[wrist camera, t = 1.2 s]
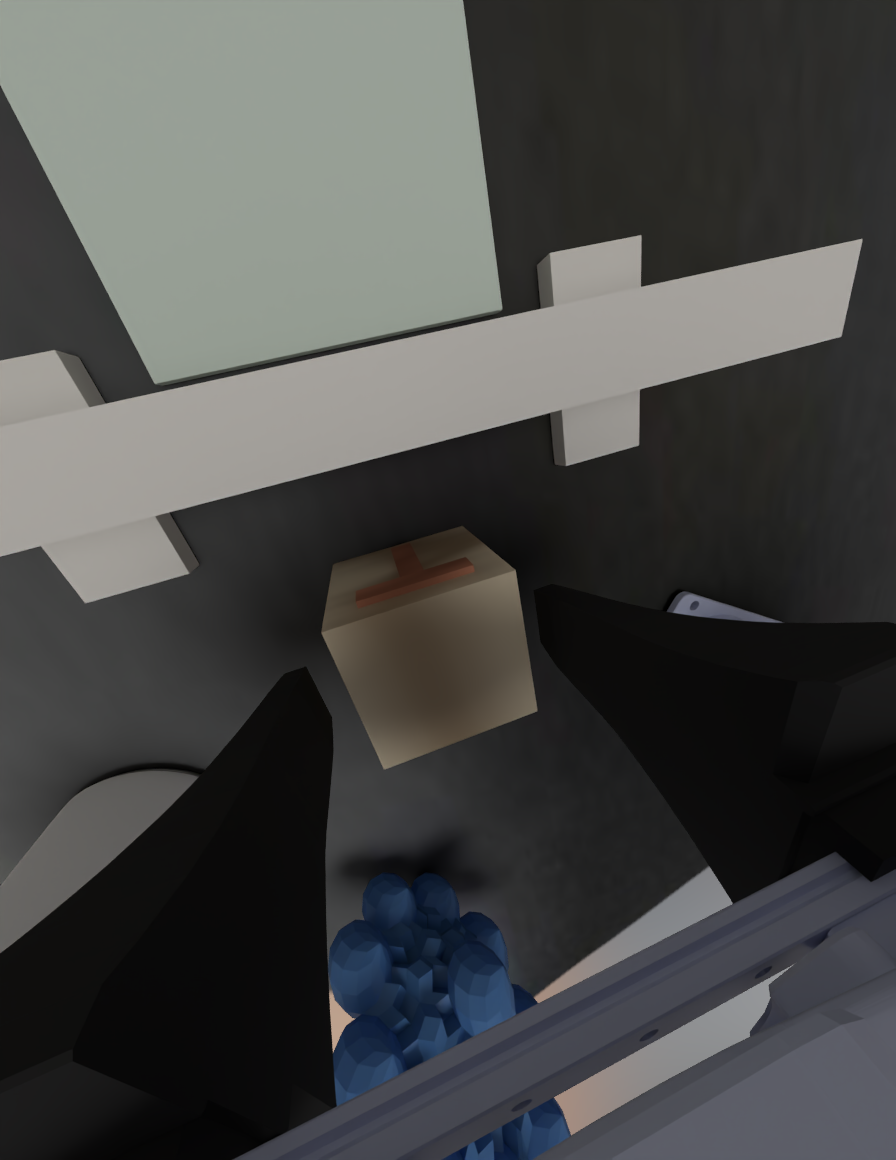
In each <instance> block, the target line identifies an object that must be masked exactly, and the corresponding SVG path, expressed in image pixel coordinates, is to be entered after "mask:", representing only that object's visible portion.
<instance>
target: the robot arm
mask: <svg viewBox="0 0 896 1160" xmlns="http://www.w3.org/2000/svg"><path fill="white" fill-rule="evenodd" d="M534 595H535V602H536V610H537V617H538V625H539V633H540V640H541V643H542V645H543V646H544V648H545V650H546V651H547V653H548V654H549V656H550V657H551V658H552V660H553V661H554V663H555V664H556V665H557V667H558V668H559V669H560V670H561V671H562V673H563V674H564V675H565V676H566V677H567V678H568V679H569V680H570V681H571V683H572V684H573V685H574V686H575V687H576V688H577V689H578V690H579V691H580V692H581V693H582V695H583V696H584V697H585V698H586V699H587V700H588V701H589V702H590V703H591V704H592V706H593V707H594V708H595V709H596V710H597V711H598V712H599V713H600V714H601V715H602V716H603V718H604V719H605V720H606V721H607V722H608V723H609V724H610V726H611V727H612V728H613V729H614V730H615V732H616V733H617V734H618V735H619V737H620V738H621V739H622V741H623V742H624V743H625V745H626V746H627V747H628V749H629V750H630V751H631V753H632V754H633V755H634V757H635V758H636V759H637V761H638V762H639V763H640V765H641V766H642V768H643V769H644V770H645V772H646V773H647V775H648V776H649V777H650V779H651V780H652V782H653V783H654V784H655V786H656V787H657V789H658V790H659V791H660V793H661V794H662V796H663V797H664V798H665V800H666V801H667V803H668V804H669V806H670V807H671V809H672V810H673V812H674V813H675V815H676V816H677V818H678V819H679V821H680V822H681V824H682V825H683V826H684V828H685V829H686V831H687V832H688V834H689V835H690V837H691V838H692V840H693V841H694V843H695V844H696V846H697V848H698V849H699V851H700V852H701V854H702V855H703V857H704V858H705V860H706V862H707V863H708V865H709V866H710V868H711V869H712V871H713V872H714V874H715V876H716V877H717V879H718V880H719V882H720V883H721V885H722V886H723V888H724V889H725V891H726V893H727V894H728V896H729V897H730V899H731V901H732V902H733V904H732V905H730V906H728V907H726V908H724V909H722V910H720V911H718V912H716V913H714V914H712V915H710V916H709V917H707V918H705V919H703V920H701V921H699V922H697V923H695V924H693V925H691V926H689V927H687V928H685V929H683V930H681V931H679V932H677V933H675V934H673V935H671V936H670V937H667V938H665V939H663V940H662V941H660V942H658V943H656V944H654V945H652V946H650V947H648V948H646V949H644V950H642V951H640V952H638V953H636V954H634V955H632V956H630V957H628V958H626V959H624V960H623V961H620V962H619V963H617V964H615V965H613V966H611V967H609V968H607V969H605V970H603V971H601V972H599V973H597V974H595V975H593V976H591V977H589V978H587V979H585V980H583V981H582V982H579V983H578V984H576V985H573V986H572V987H570V988H568V989H566V990H564V991H562V992H560V993H558V994H556V995H554V996H552V997H550V998H548V999H546V1000H544V1001H542V1002H540V1003H538V1004H536V1005H534V1006H532V1007H530V1008H528V1009H527V1010H525V1011H523V1012H521V1013H519V1014H517V1015H515V1016H513V1017H511V1018H509V1019H507V1020H505V1021H503V1022H501V1023H499V1024H497V1025H495V1026H493V1027H491V1028H489V1029H487V1030H485V1031H483V1032H482V1033H480V1034H478V1035H476V1036H474V1037H472V1038H470V1039H468V1040H466V1041H464V1042H462V1043H460V1044H458V1045H456V1046H454V1047H452V1048H450V1049H448V1050H446V1051H444V1052H442V1053H440V1054H438V1055H437V1056H435V1057H433V1058H431V1059H429V1060H427V1061H425V1062H423V1063H421V1064H419V1065H417V1066H415V1067H413V1068H411V1069H409V1070H407V1071H405V1072H403V1073H401V1074H399V1075H397V1076H395V1077H393V1078H391V1079H390V1080H388V1081H386V1082H384V1083H382V1084H380V1085H378V1086H376V1087H374V1088H372V1089H370V1090H368V1091H366V1092H364V1093H362V1094H360V1095H358V1096H356V1097H354V1098H352V1099H350V1100H348V1101H346V1102H345V1103H343V1104H341V1105H339V1106H337V1104H336V1092H335V1079H334V1064H333V1051H332V1050H333V1049H332V1035H331V1021H330V1003H329V981H328V960H327V932H326V884H325V849H326V830H327V819H328V808H329V797H330V786H331V775H332V763H333V728H332V717H331V715H330V713H329V711H328V709H327V707H326V705H325V703H324V701H323V699H322V697H321V695H320V693H319V691H318V689H317V687H316V685H315V683H314V681H313V679H312V677H311V675H310V674H309V672H308V670H307V668H306V667H303V668H300V669H297V670H294V671H291V672H288V673H285V674H284V675H283V676H282V677H281V678H280V680H279V681H278V682H277V683H276V684H275V686H274V687H273V688H272V689H271V691H270V692H269V693H268V694H267V696H266V697H265V698H264V700H263V701H262V702H261V703H260V705H259V706H258V707H257V709H256V710H255V711H254V712H253V714H252V715H251V716H250V717H249V719H248V720H247V721H246V722H245V724H244V725H243V726H242V727H241V729H240V730H239V731H238V732H237V734H236V735H235V736H234V737H233V738H232V739H231V741H230V742H229V743H228V744H227V745H226V746H225V748H224V749H223V750H222V751H221V752H220V753H219V755H218V756H217V757H216V758H215V759H214V760H213V762H212V763H211V764H210V765H209V766H208V767H207V768H206V770H205V771H204V772H203V773H202V774H201V775H200V776H199V777H198V778H197V779H196V780H195V781H194V783H193V784H192V785H191V786H190V787H189V788H188V789H187V790H186V791H185V792H184V793H183V794H182V795H181V796H180V797H179V798H178V799H177V800H176V801H175V802H174V803H173V804H172V805H171V806H170V807H169V808H168V809H167V810H166V811H165V812H164V813H163V814H162V815H161V816H160V817H159V818H158V819H157V820H156V821H155V822H154V823H152V824H151V825H150V826H149V827H148V828H147V829H146V830H145V831H144V832H143V833H142V834H141V835H139V836H138V837H137V838H136V839H135V840H134V841H133V842H132V843H131V844H130V845H129V846H128V847H126V848H125V849H124V850H123V851H122V852H121V853H120V854H119V855H118V856H117V857H116V858H115V859H113V860H112V861H111V862H110V863H109V864H108V865H107V866H106V867H104V868H103V869H102V870H101V871H100V872H99V873H98V874H96V875H95V876H94V877H93V878H92V879H91V880H89V881H88V882H87V883H86V884H85V885H84V886H82V887H81V888H80V889H79V890H78V891H77V892H75V893H74V894H73V895H72V896H71V897H69V898H68V899H67V900H66V901H64V902H63V903H62V904H61V905H60V906H58V907H57V908H56V909H55V910H54V911H52V912H51V913H50V914H49V915H48V916H46V917H45V918H44V919H43V920H41V921H40V922H39V923H38V924H37V925H35V926H34V927H33V928H32V929H30V930H29V931H28V932H27V933H25V934H24V935H23V936H22V937H20V938H19V939H18V940H17V941H15V942H14V943H13V944H12V945H10V946H9V947H8V948H6V949H5V950H4V951H2V952H1V953H0V1160H442V1159H443V1158H445V1157H447V1156H449V1155H451V1154H452V1153H454V1152H456V1151H458V1150H460V1149H461V1148H463V1147H465V1146H467V1145H469V1144H470V1143H472V1142H474V1141H476V1140H478V1139H479V1138H481V1137H483V1136H485V1135H487V1134H488V1133H490V1132H492V1131H494V1130H496V1129H497V1128H499V1127H501V1126H503V1125H505V1124H506V1123H508V1122H510V1121H512V1120H514V1119H516V1118H517V1117H519V1116H521V1115H523V1114H525V1113H526V1112H528V1111H530V1110H532V1109H534V1108H535V1107H537V1106H539V1105H541V1104H543V1103H544V1102H546V1101H548V1100H550V1099H552V1098H553V1097H555V1096H557V1095H559V1094H561V1093H562V1092H564V1091H566V1090H568V1089H570V1088H571V1087H573V1086H575V1085H577V1084H579V1083H580V1082H582V1081H584V1080H586V1079H588V1078H589V1077H591V1076H593V1075H595V1074H597V1073H598V1072H600V1071H602V1070H604V1069H606V1068H607V1067H609V1066H611V1065H613V1064H614V1063H616V1062H618V1061H620V1060H622V1059H624V1058H626V1057H627V1056H629V1055H631V1054H633V1053H634V1052H636V1051H638V1050H640V1049H642V1048H644V1047H645V1046H647V1045H649V1044H651V1043H653V1042H654V1041H656V1040H658V1039H660V1038H662V1037H663V1036H665V1035H667V1034H669V1033H671V1032H672V1031H674V1030H676V1029H678V1028H680V1027H681V1026H683V1025H685V1024H687V1023H688V1022H690V1021H692V1020H694V1019H696V1018H697V1017H699V1016H701V1015H703V1014H705V1013H706V1012H708V1011H710V1010H712V1009H714V1008H716V1007H717V1006H719V1005H721V1004H723V1003H725V1002H726V1001H728V1000H730V999H732V998H734V997H735V996H737V995H739V994H741V993H743V992H745V991H746V990H748V989H750V988H752V987H753V986H755V985H757V984H759V983H761V982H763V981H764V980H766V979H768V978H770V977H771V976H773V975H775V974H777V973H779V972H781V971H782V970H784V969H786V968H788V967H790V966H791V965H793V964H794V965H793V966H792V967H791V968H789V969H788V970H787V971H786V972H784V973H783V974H782V975H780V976H779V977H778V978H777V979H775V980H774V981H773V982H772V983H771V984H769V991H770V997H771V998H770V1001H769V1003H768V1005H767V1008H766V1010H765V1013H764V1014H763V1015H762V1016H761V1018H760V1019H759V1020H758V1022H757V1023H756V1024H755V1026H754V1027H753V1028H752V1030H751V1031H750V1037H749V1038H747V1039H745V1040H743V1041H741V1042H739V1043H736V1044H735V1045H733V1046H730V1047H728V1048H726V1049H724V1050H722V1051H720V1052H718V1053H717V1054H715V1055H713V1056H711V1057H709V1058H707V1059H705V1060H703V1061H702V1062H700V1063H698V1064H696V1065H694V1066H692V1067H690V1068H689V1069H687V1070H685V1071H683V1072H681V1073H679V1074H677V1075H675V1076H674V1077H672V1078H670V1079H668V1080H666V1081H665V1082H662V1083H661V1084H659V1085H657V1086H655V1087H654V1088H652V1089H650V1090H648V1091H647V1092H645V1093H643V1094H641V1095H640V1096H638V1097H636V1098H634V1099H633V1100H631V1101H629V1102H627V1103H626V1104H624V1105H622V1106H621V1107H619V1108H617V1109H615V1110H614V1111H612V1112H610V1113H608V1114H607V1115H605V1116H603V1117H601V1118H600V1119H598V1120H596V1121H595V1122H593V1123H591V1124H590V1125H588V1126H586V1127H585V1128H583V1129H581V1130H580V1131H578V1132H576V1133H575V1134H573V1135H572V1136H570V1137H568V1138H567V1139H565V1140H563V1141H562V1142H560V1143H559V1144H557V1145H555V1146H554V1147H552V1148H550V1149H549V1150H547V1151H545V1152H544V1153H542V1154H541V1155H539V1156H537V1157H536V1158H534V1159H532V1160H896V624H894V623H889V622H866V623H784V622H781V621H778V620H775V619H772V618H768V617H765V616H762V615H759V614H756V613H753V612H750V611H746V610H743V609H740V608H737V607H734V606H731V605H728V604H724V603H721V602H718V601H715V600H712V599H709V598H705V597H702V596H699V595H696V594H693V593H690V592H685V591H684V592H681V593H679V594H678V595H677V596H676V597H675V598H674V600H673V602H672V603H671V605H670V607H669V608H668V610H667V612H665V611H660V610H654V609H650V608H645V607H640V606H636V605H631V604H627V603H623V602H619V601H615V600H611V599H607V598H603V597H599V596H596V595H592V594H588V593H585V592H581V591H578V590H574V589H570V588H566V587H562V586H558V585H553V584H551V585H548V586H545V587H542V588H539V589H536V590H534ZM795 963H796V964H795Z"/></svg>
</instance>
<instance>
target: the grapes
mask: <svg viewBox="0 0 896 1160" xmlns="http://www.w3.org/2000/svg"><path fill="white" fill-rule="evenodd" d="M362 913H363V916H364V920H365V921H364V920H354V921H352V922H351V923H349V924H348V925H346V926H344V927H343V928H342V929H340V930H339V932H338V934H337V936H336V938H335V939H334V941H333V943H332V945H331V947H330V953H329V963H328V973H329V978H330V983H331V987H332V990H333V994H334V998H335V1001H336V1002H337V1003H338V1004H339V1005H340V1006H341V1007H342V1008H343V1009H344V1010H345V1012H347V1013H348V1014H349V1015H350V1016H351V1017H352V1018H356V1019H355V1020H353V1021H352V1022H351V1023H349V1024H348V1025H347V1026H346V1027H345V1029H344V1030H343V1032H342V1034H341V1036H340V1039H339V1041H338V1043H337V1046H336V1048H335V1050H334V1052H333V1064H334V1079H335V1092H336V1104H337V1106H339V1105H341V1104H343V1103H345V1102H346V1101H348V1100H350V1099H352V1098H354V1097H356V1096H358V1095H360V1094H362V1093H364V1092H366V1091H368V1090H370V1089H372V1088H374V1087H376V1086H378V1085H380V1084H382V1083H384V1082H386V1081H388V1080H390V1079H391V1078H393V1077H395V1076H397V1075H399V1074H401V1073H403V1072H405V1071H407V1070H409V1069H411V1068H413V1067H415V1066H417V1065H419V1064H421V1063H423V1062H425V1061H427V1060H429V1059H431V1058H433V1057H435V1056H437V1055H438V1054H440V1053H442V1052H444V1051H446V1050H448V1049H450V1048H452V1047H454V1046H456V1045H458V1044H460V1043H462V1042H464V1041H466V1040H468V1039H470V1038H472V1037H474V1036H476V1035H478V1034H480V1033H482V1032H483V1031H485V1030H487V1029H489V1028H491V1027H493V1026H495V1025H497V1024H499V1023H501V1022H503V1021H505V1020H507V1019H509V1018H511V1017H513V1016H515V1015H517V1014H519V1013H521V1012H523V1011H525V1010H527V1009H528V1008H530V1007H532V1006H534V1005H536V1004H538V1003H537V1001H536V1000H535V999H534V998H533V996H532V995H531V994H530V993H529V992H527V991H526V990H524V989H523V988H522V987H520V986H519V985H516V984H511V982H510V979H509V976H508V973H507V972H508V968H509V965H508V955H507V948H506V945H505V942H504V939H503V936H502V933H501V931H500V930H499V928H498V927H497V926H496V924H495V923H494V922H493V921H492V920H491V919H490V918H488V917H487V916H485V915H483V914H482V913H478V912H468V913H466V914H465V915H464V916H462V917H461V918H460V913H459V903H458V900H457V896H456V893H455V891H454V889H453V888H452V886H451V885H450V884H449V883H448V881H447V880H446V879H444V878H443V877H441V876H440V875H438V874H436V873H426V872H425V873H424V874H422V875H420V876H419V877H417V878H416V879H415V880H414V882H413V885H412V887H411V888H410V887H409V885H408V884H407V883H406V881H405V880H404V879H402V878H401V877H400V876H398V875H397V874H394V873H385V872H383V873H382V874H380V875H378V876H376V877H375V878H373V879H371V880H370V882H369V884H368V886H367V888H366V890H365V892H364V893H363V906H362ZM570 1136H571V1134H570V1131H569V1129H568V1126H567V1123H566V1119H565V1117H564V1114H563V1111H562V1109H561V1108H560V1106H559V1105H558V1103H557V1102H556V1100H555V1099H554V1097H553V1098H552V1099H550V1100H548V1101H546V1102H544V1103H543V1104H541V1105H539V1106H537V1107H535V1108H534V1109H532V1110H530V1111H528V1112H526V1113H525V1114H523V1115H521V1116H519V1117H517V1118H516V1119H514V1120H512V1121H510V1122H508V1123H506V1124H505V1125H503V1126H501V1127H499V1128H497V1129H496V1130H494V1131H492V1132H490V1133H488V1134H487V1135H485V1136H483V1137H481V1138H479V1139H478V1140H476V1141H474V1142H472V1143H470V1144H469V1145H467V1146H465V1147H463V1148H461V1149H460V1150H458V1151H456V1152H454V1153H452V1154H451V1155H449V1156H447V1157H445V1158H443V1159H442V1160H532V1159H534V1158H536V1157H537V1156H539V1155H541V1154H542V1153H544V1152H545V1151H547V1150H549V1149H550V1148H552V1147H554V1146H555V1145H557V1144H559V1143H560V1142H562V1141H563V1140H565V1139H567V1138H568V1137H570Z"/></svg>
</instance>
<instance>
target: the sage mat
mask: <svg viewBox="0 0 896 1160" xmlns="http://www.w3.org/2000/svg"><path fill="white" fill-rule="evenodd" d="M0 85H1V87H2V89H3V91H4V93H5V95H6V97H7V99H8V101H9V103H10V105H11V107H12V109H13V111H14V113H15V114H16V116H17V118H18V120H19V122H20V124H21V126H22V128H23V130H24V132H25V134H26V136H27V138H28V140H29V142H30V143H31V145H32V147H33V149H34V151H35V153H36V155H37V157H38V159H39V161H40V163H41V165H42V167H43V169H44V171H45V173H46V174H47V176H48V178H49V180H50V182H51V184H52V186H53V188H54V190H55V192H56V194H57V196H58V198H59V200H60V202H61V203H62V205H63V207H64V209H65V211H66V213H67V215H68V217H69V219H70V221H71V223H72V225H73V227H74V229H75V231H76V233H77V234H78V236H79V238H80V240H81V242H82V244H83V246H84V248H85V250H86V252H87V254H88V256H89V258H90V260H91V262H92V263H93V265H94V267H95V269H96V271H97V273H98V275H99V277H100V279H101V281H102V283H103V285H104V287H105V289H106V291H107V293H108V294H109V296H110V298H111V300H112V302H113V304H114V306H115V308H116V310H117V312H118V314H119V316H120V318H121V320H122V322H123V323H124V325H125V327H126V329H127V331H128V333H129V335H130V337H131V339H132V341H133V343H134V345H135V347H136V349H137V351H138V352H139V354H140V356H141V358H142V360H143V362H144V364H145V366H146V368H147V370H148V372H149V374H150V376H151V378H152V380H153V382H154V383H155V384H157V385H161V386H164V385H169V384H173V383H178V382H183V381H187V380H192V379H197V378H201V377H206V376H211V375H215V374H220V373H224V372H229V371H234V370H238V369H243V368H248V367H252V366H257V365H261V364H266V363H271V362H275V361H280V360H285V359H289V358H294V357H298V356H303V355H308V354H312V353H317V352H322V351H326V350H331V349H335V348H340V347H345V346H349V345H354V344H359V343H363V342H368V341H372V340H377V339H382V338H386V337H391V336H396V335H400V334H405V333H410V332H414V331H419V330H423V329H428V328H433V327H437V326H442V325H447V324H451V323H456V322H460V321H465V320H470V319H474V318H479V317H484V316H488V315H493V314H497V313H499V312H500V311H501V310H502V303H501V295H500V287H499V279H498V271H497V263H496V256H495V248H494V240H493V232H492V224H491V217H490V209H489V201H488V193H487V185H486V177H485V170H484V162H483V154H482V146H481V138H480V131H479V123H478V115H477V107H476V99H475V91H474V84H473V76H472V68H471V60H470V52H469V45H468V37H467V29H466V21H465V13H464V5H463V0H0Z"/></svg>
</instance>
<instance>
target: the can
mask: <svg viewBox="0 0 896 1160" xmlns="http://www.w3.org/2000/svg"><path fill="white" fill-rule="evenodd" d="M200 775H201V774H199V773H196V772H192V771H188V770H182V769H175V768H148V769H140V770H134V771H130V772H126V773H122V774H119V775H116V776H113V777H111V778H109V779H106V780H103V781H101V782H98V783H96V784H94V785H92V786H90V787H88V788H86V789H84V790H83V791H81V792H80V793H78V794H77V795H76V796H74V797H73V798H72V799H71V800H70V801H69V802H68V803H67V804H66V805H65V806H64V807H63V808H62V810H61V811H60V812H59V813H58V814H57V816H56V817H55V818H54V819H53V821H52V822H51V823H50V824H49V825H48V827H47V828H46V829H45V830H44V832H43V833H42V834H41V835H40V837H39V838H38V839H37V840H36V842H35V843H34V844H33V845H32V847H31V848H30V849H29V850H28V852H27V853H26V854H25V855H24V857H23V858H22V859H21V861H20V862H19V863H18V864H17V866H16V867H15V868H14V869H13V871H12V872H11V873H10V874H9V876H8V877H7V878H6V879H5V881H4V882H3V883H2V884H1V886H0V953H1V952H2V951H4V950H5V949H6V948H8V947H9V946H10V945H12V944H13V943H14V942H15V941H17V940H18V939H19V938H20V937H22V936H23V935H24V934H25V933H27V932H28V931H29V930H30V929H32V928H33V927H34V926H35V925H37V924H38V923H39V922H40V921H41V920H43V919H44V918H45V917H46V916H48V915H49V914H50V913H51V912H52V911H54V910H55V909H56V908H57V907H58V906H60V905H61V904H62V903H63V902H64V901H66V900H67V899H68V898H69V897H71V896H72V895H73V894H74V893H75V892H77V891H78V890H79V889H80V888H81V887H82V886H84V885H85V884H86V883H87V882H88V881H89V880H91V879H92V878H93V877H94V876H95V875H96V874H98V873H99V872H100V871H101V870H102V869H103V868H104V867H106V866H107V865H108V864H109V863H110V862H111V861H112V860H113V859H115V858H116V857H117V856H118V855H119V854H120V853H121V852H122V851H123V850H124V849H125V848H126V847H128V846H129V845H130V844H131V843H132V842H133V841H134V840H135V839H136V838H137V837H138V836H139V835H141V834H142V833H143V832H144V831H145V830H146V829H147V828H148V827H149V826H150V825H151V824H152V823H154V822H155V821H156V820H157V819H158V818H159V817H160V816H161V815H162V814H163V813H164V812H165V811H166V810H167V809H168V808H169V807H170V806H171V805H172V804H173V803H174V802H175V801H176V800H177V799H178V798H179V797H180V796H181V795H182V794H183V793H184V792H185V791H186V790H187V789H188V788H189V787H190V786H191V785H192V784H193V783H194V781H195V780H196V779H197V778H198V777H199V776H200Z"/></svg>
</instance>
